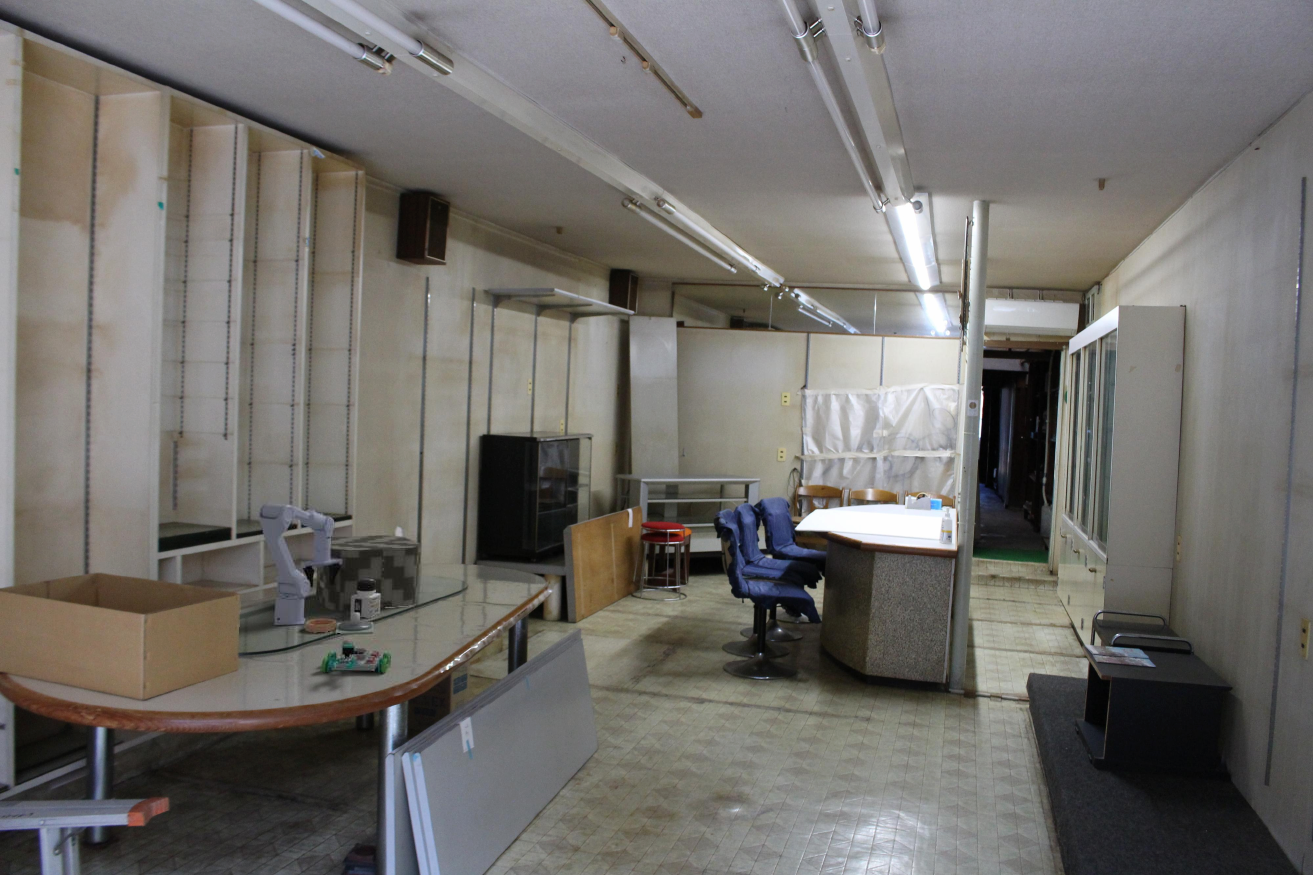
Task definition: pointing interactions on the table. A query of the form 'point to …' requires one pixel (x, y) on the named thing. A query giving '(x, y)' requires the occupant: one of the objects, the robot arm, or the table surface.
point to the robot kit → (356, 659)
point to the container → (366, 599)
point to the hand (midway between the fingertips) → (321, 585)
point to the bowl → (320, 625)
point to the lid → (355, 624)
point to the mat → (354, 631)
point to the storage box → (371, 570)
